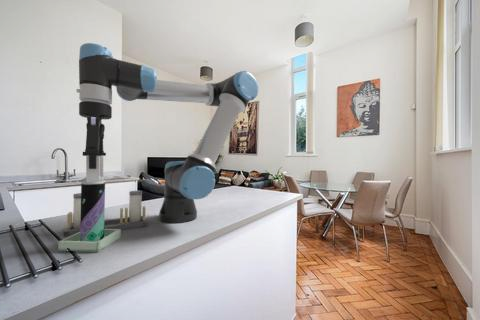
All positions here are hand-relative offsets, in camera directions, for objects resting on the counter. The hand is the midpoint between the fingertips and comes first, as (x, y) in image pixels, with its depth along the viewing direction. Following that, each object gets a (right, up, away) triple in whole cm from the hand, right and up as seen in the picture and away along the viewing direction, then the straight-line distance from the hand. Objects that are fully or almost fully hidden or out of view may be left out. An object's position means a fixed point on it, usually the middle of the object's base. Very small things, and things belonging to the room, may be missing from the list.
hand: (95, 179), depth 59 cm
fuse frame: (-5, -18, +14) cm, 23 cm away
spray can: (-1, -18, 0) cm, 18 cm away
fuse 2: (+2, -18, +18) cm, 26 cm away
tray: (-1, -18, 0) cm, 18 cm away
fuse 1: (-12, -18, +10) cm, 23 cm away
